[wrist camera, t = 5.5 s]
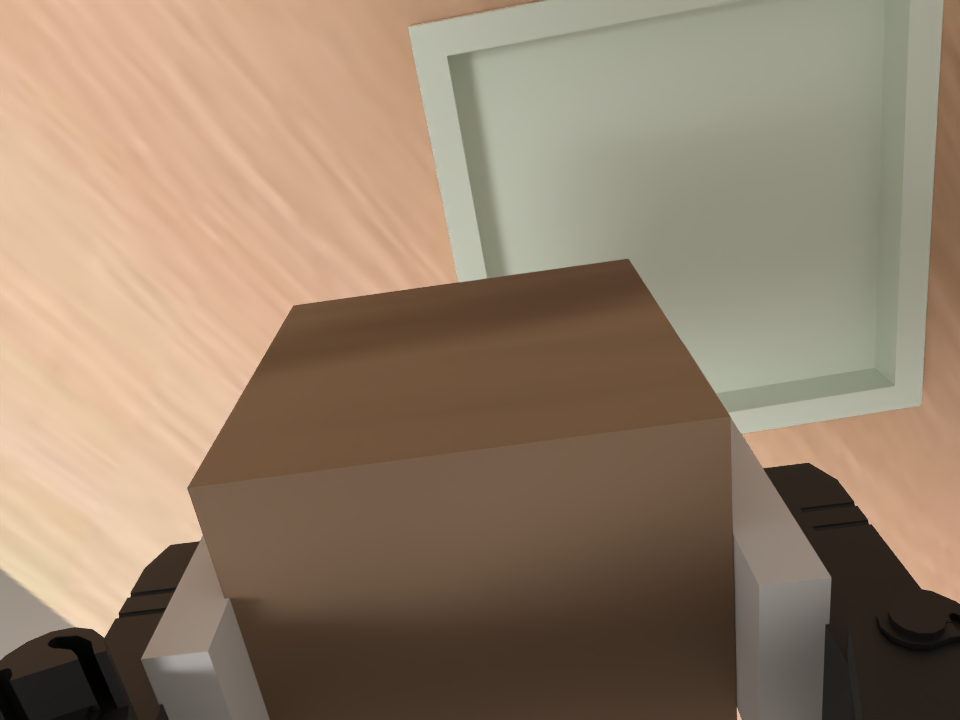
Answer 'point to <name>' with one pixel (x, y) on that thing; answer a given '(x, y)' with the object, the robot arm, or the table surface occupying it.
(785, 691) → the robot arm
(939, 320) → the table surface
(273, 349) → the cube
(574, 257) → the tray
